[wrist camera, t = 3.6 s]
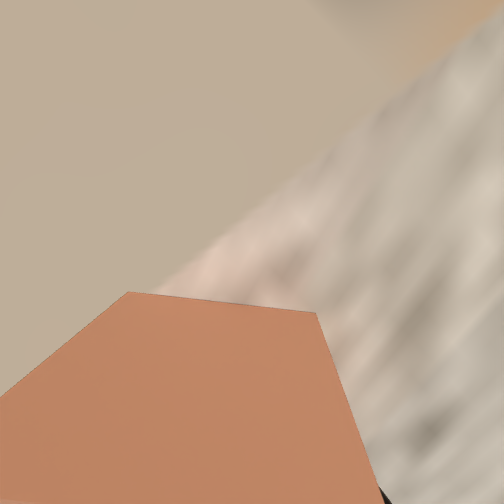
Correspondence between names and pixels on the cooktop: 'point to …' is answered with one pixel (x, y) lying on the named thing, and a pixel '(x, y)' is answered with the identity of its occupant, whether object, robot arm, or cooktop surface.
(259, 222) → the cooktop surface
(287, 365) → the terracotta cube
